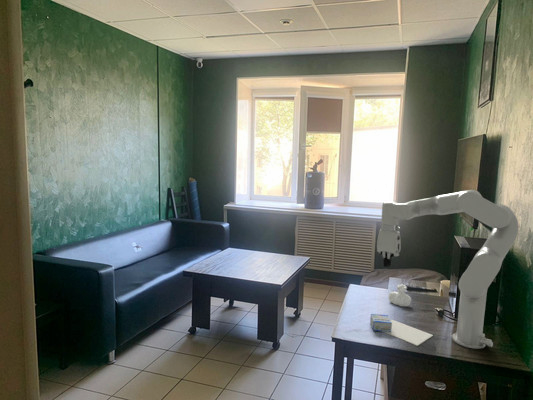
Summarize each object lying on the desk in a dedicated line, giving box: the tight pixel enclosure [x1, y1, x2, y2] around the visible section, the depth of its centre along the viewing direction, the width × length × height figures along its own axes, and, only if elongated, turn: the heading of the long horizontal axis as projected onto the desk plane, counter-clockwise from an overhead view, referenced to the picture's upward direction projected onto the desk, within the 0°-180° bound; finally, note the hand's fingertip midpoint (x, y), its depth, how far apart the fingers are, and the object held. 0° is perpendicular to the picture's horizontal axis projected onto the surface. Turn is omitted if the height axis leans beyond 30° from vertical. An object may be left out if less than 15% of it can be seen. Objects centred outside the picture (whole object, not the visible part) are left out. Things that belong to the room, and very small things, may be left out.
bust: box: [388, 284, 412, 307], centre depth 200 cm, size 12×8×11 cm
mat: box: [381, 319, 434, 347], centre depth 167 cm, size 20×14×1 cm
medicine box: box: [369, 313, 392, 332], centre depth 170 cm, size 8×4×9 cm
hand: (386, 266), depth 178 cm, fingers closed
